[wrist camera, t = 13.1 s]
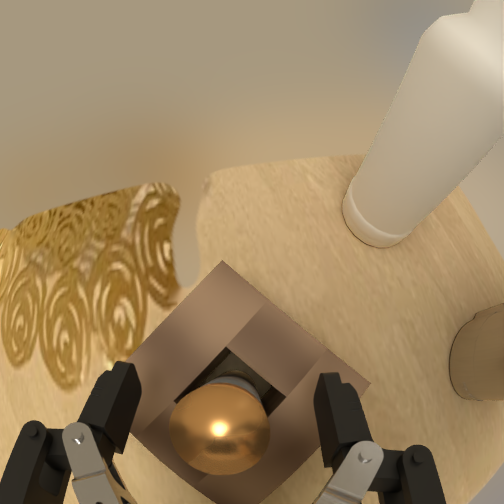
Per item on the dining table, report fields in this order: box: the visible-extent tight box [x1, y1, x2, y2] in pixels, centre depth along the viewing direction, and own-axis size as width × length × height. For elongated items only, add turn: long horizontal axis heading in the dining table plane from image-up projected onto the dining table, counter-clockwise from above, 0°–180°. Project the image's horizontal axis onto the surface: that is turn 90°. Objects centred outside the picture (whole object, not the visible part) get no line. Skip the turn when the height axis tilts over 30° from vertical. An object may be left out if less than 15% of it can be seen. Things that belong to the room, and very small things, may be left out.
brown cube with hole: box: [125, 260, 371, 504], centre depth 18 cm, size 12×12×8 cm
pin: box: [169, 370, 270, 475], centre depth 15 cm, size 3×3×15 cm
